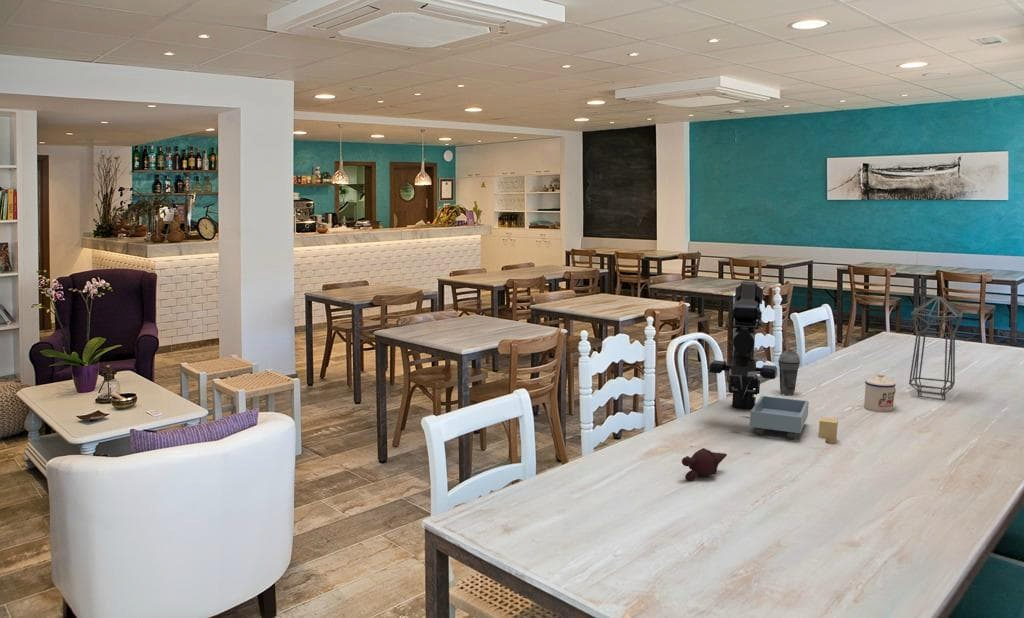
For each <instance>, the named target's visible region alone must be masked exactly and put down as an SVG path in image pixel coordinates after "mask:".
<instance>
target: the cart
mask: <svg viewBox="0 0 1024 618" xmlns="http://www.w3.org/2000/svg"><path fill="white" fill-rule="evenodd" d="M749 417H750V418H749V427H750V428H753V432H754V433H753V434H756V435H763V432H764V430H773V431H779V432H780V431H781V432H787V433H786V438H789V439H790V440H794V439H796V438H797V434H801V433H802V430H803V428H804V426H805V425H806V424H805V423H806V420H807V419H808V417H809V400H802V399H794V398H786V397H776V396H768V395H760V397H759V398H758V399H757V400H756V404H755V406H754V407H753V408H752V410H750V415H749ZM804 424H805V425H804ZM790 440H789V441H790Z"/></svg>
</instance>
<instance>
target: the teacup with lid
mask: <svg viewBox="0 0 1024 618" xmlns="http://www.w3.org/2000/svg"><path fill="white" fill-rule="evenodd" d="M864 384H865V386H864V387H865V389H864V402H863V407H864V409H866V410H869V411H873V412H880V413H888V412H892V411H893V409H894V401H895V395H896V393H897V392H896V391H897V389H896V382H895V381H893V380H891V379H889V378H888V377H886V376H885V374H884V373H882V372H881V373H880V372H879V373H877V375H876V376H873V377H870V378H867V379H865V381H864Z"/></svg>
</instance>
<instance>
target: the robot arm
mask: <svg viewBox="0 0 1024 618" xmlns="http://www.w3.org/2000/svg"><path fill="white" fill-rule="evenodd" d="M763 292H764V289H763V288H762V287H760V286H758V283H757V282H755V281H742V282H740V285H739V286H737V287H735V292H734V293H735V294H734V303H735V304H734V306H732V313H731V325H730V328H731V329H734V336H733V339H732V344H733V355H732V357H731V362H730V364H727V361H725V360H717V359H716V360H713V361H712V362H711V363H709V366H708V367H709V369H708V373H711V374H721V373H722V372H723V371H724V372H728V373H729V374H728V377H729V378H730V379H729V381H730V382H729V393H730V394H732V401H731V406H732V407H731V408H733V409H736V410H743V411H747V410H748V411H749V410H750V411H751V410H752V408H753V407H754V406H755V404H756V403H757V397H756V396H757V395H760V390H761V389H760V386H761V380H760V379H759V375H760V376H761V377H762V378H763V379H768V380H769V379H770V380H775V379H776V378H777V376H778V367H777V366H776V365H768V364H767V365H766V364H763V365H762V366H761V367H757V360H756V358H755V347H756V346H755V345H756V344H755V342H756V330H759V328H760V327H762V318H763V317H762V315H763V311H762V310H761V308H760V305H762V304H763V294H764V293H763Z"/></svg>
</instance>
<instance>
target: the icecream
mask: <svg viewBox="0 0 1024 618" xmlns="http://www.w3.org/2000/svg"><path fill="white" fill-rule="evenodd" d="M727 456H728V454H727V453H724V452H715V451H714V452H713V451H711V450H709V449H707V448H705V447H703V448H700V449H698V450H696V451H695V452H694V453H693V455H692V456H691V457H690V456H687V455H686V457H682V459H681V464H682V465H683V466H684V467H688V469H689V471H688V472H686V473H685V480H686V481H689V482H690V481H692V480H694V479H696V478H697V477H698V476H701V477H708V476H712V475H715V474H717V471H718V466H719V465H720V464H721V462H722V461H723V460H724V459H725V458H726V457H727Z"/></svg>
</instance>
